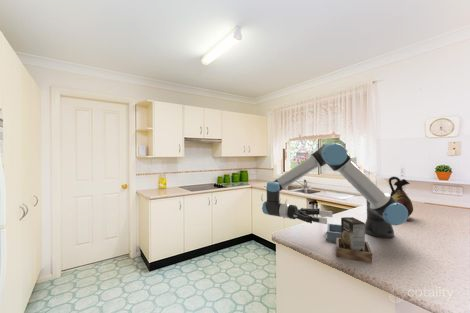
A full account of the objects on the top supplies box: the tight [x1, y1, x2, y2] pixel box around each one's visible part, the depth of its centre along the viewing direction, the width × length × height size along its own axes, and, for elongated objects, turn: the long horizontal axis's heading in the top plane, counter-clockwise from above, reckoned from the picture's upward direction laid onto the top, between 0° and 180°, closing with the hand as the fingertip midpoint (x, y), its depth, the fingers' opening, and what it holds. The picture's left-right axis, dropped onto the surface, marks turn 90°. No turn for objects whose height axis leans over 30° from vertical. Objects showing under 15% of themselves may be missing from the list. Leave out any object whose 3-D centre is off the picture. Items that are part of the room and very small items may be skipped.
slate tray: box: [326, 223, 341, 243], centre depth 122 cm, size 15×15×5 cm
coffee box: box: [340, 216, 366, 252], centre depth 103 cm, size 9×6×16 cm
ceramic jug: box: [388, 176, 414, 220], centre depth 158 cm, size 17×15×30 cm
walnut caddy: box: [335, 238, 373, 264], centre depth 103 cm, size 14×14×4 cm
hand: (329, 217), depth 108 cm, fingers open, 13 cm apart
